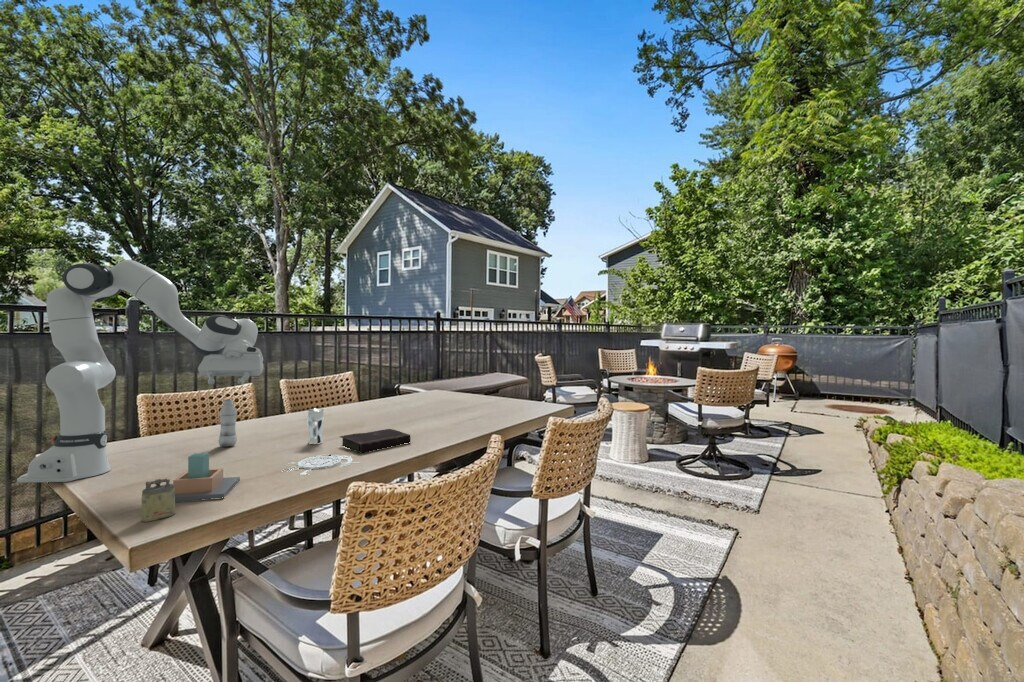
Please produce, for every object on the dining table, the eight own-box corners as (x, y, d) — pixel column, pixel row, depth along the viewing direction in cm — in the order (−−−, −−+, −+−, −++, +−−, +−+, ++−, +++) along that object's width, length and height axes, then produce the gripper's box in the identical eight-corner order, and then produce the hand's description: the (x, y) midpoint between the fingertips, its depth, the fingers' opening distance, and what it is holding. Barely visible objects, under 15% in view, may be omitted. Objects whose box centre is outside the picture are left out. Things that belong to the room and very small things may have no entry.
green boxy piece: (173, 511, 122) (173, 475, 122) (177, 515, 120) (177, 478, 119) (139, 519, 117) (140, 482, 116) (143, 523, 114) (143, 485, 114)
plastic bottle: (223, 444, 194) (224, 398, 194) (239, 444, 194) (240, 399, 194) (215, 448, 187) (215, 401, 187) (231, 448, 188) (232, 401, 188)
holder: (152, 504, 127) (152, 485, 127) (176, 485, 142) (176, 468, 142) (223, 498, 132) (224, 480, 132) (239, 481, 147) (240, 464, 147)
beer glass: (317, 445, 195) (317, 411, 195) (303, 444, 197) (303, 410, 196) (326, 441, 202) (327, 409, 202) (313, 440, 203) (313, 408, 203)
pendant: (368, 462, 173) (368, 459, 173) (295, 480, 152) (295, 475, 152) (339, 452, 187) (339, 449, 187) (269, 467, 165) (269, 463, 165)
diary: (410, 445, 202) (411, 434, 202) (361, 455, 183) (361, 443, 183) (387, 437, 214) (387, 427, 214) (338, 447, 195) (338, 435, 195)
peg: (188, 489, 135) (188, 456, 135) (194, 485, 139) (194, 453, 138) (202, 488, 136) (203, 456, 135) (208, 484, 139) (209, 452, 139)
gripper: (202, 348, 161) (189, 377, 152) (264, 348, 166) (254, 377, 156) (208, 359, 166) (195, 389, 156) (268, 360, 170) (258, 388, 161)
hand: (225, 383), depth 156 cm, fingers open, 8 cm apart
